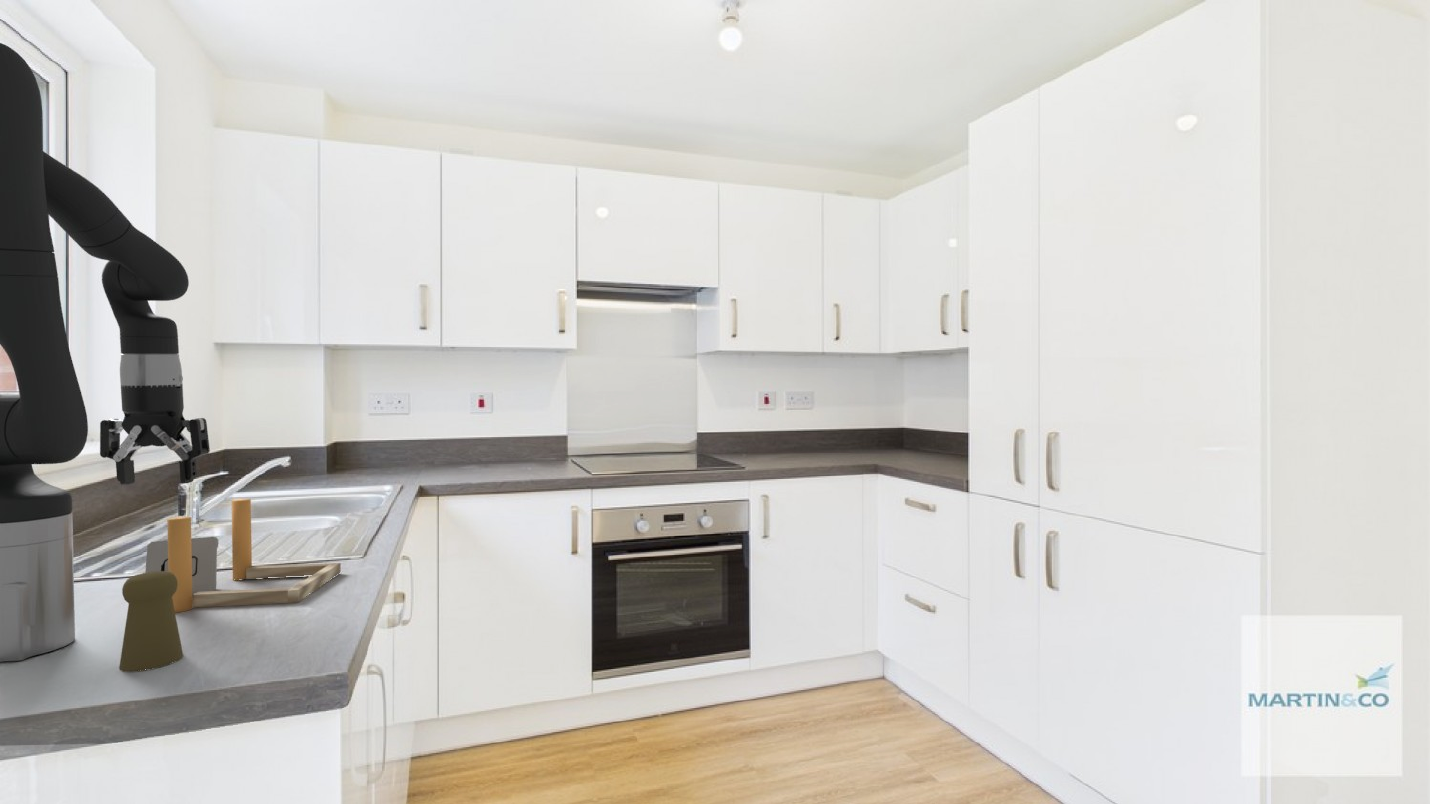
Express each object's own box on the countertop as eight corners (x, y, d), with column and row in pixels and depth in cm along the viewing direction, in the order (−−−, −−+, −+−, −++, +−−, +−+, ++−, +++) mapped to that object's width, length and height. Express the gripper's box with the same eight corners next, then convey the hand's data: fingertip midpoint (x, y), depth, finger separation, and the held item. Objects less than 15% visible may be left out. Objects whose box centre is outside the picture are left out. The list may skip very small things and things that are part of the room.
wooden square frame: (298, 602, 105) (297, 589, 105) (193, 607, 102) (192, 594, 102) (340, 573, 121) (340, 562, 121) (250, 577, 119) (250, 566, 119)
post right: (246, 580, 117) (245, 501, 117) (229, 580, 117) (227, 501, 116) (255, 575, 120) (253, 498, 120) (238, 576, 119) (236, 499, 119)
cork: (195, 651, 85) (193, 566, 85) (157, 671, 79) (155, 580, 79) (147, 652, 85) (145, 567, 85) (105, 672, 79) (103, 580, 79)
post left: (185, 612, 100) (183, 520, 100) (164, 613, 100) (162, 520, 100) (196, 606, 103) (195, 516, 103) (176, 607, 103) (175, 517, 102)
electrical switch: (142, 602, 105) (143, 543, 106) (153, 596, 110) (154, 539, 110) (214, 594, 109) (215, 537, 110) (222, 589, 114) (222, 534, 114)
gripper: (82, 383, 100) (89, 489, 102) (187, 383, 103) (192, 486, 104) (118, 381, 108) (124, 480, 109) (215, 381, 110) (220, 478, 111)
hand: (157, 483), depth 106 cm, fingers open, 8 cm apart
